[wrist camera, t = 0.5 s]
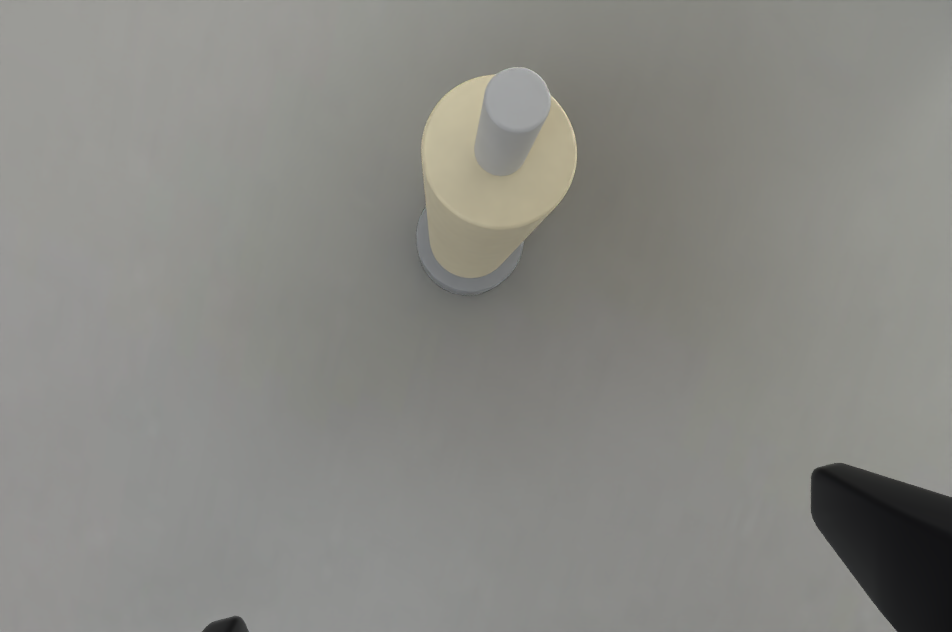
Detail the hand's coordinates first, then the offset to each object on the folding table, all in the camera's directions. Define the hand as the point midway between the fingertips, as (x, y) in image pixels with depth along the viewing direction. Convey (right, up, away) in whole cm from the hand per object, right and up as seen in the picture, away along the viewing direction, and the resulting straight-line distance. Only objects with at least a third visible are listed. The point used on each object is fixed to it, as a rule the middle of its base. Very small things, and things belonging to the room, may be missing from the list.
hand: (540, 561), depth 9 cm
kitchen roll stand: (-1, +7, +14) cm, 16 cm away
